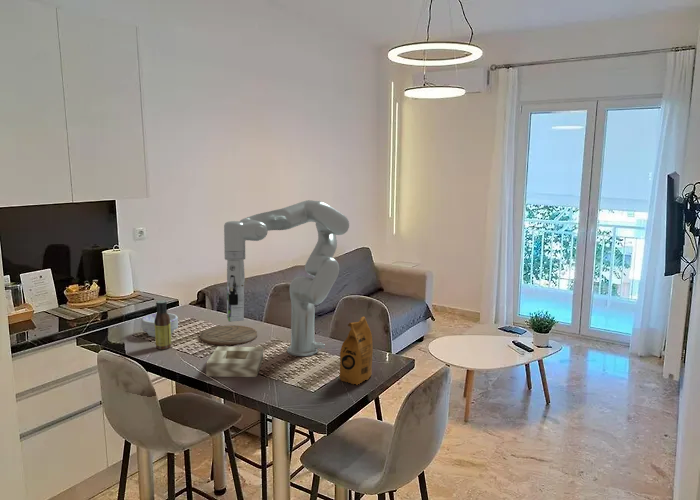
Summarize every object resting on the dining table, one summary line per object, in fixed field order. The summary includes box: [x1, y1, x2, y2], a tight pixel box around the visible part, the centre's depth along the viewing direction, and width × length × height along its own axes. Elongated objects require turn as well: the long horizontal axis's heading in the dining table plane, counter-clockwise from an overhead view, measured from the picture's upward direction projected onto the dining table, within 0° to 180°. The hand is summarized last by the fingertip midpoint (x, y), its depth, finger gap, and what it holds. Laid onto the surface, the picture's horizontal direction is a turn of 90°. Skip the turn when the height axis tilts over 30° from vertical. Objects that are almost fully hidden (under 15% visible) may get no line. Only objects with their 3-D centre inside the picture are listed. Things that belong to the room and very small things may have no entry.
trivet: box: [199, 325, 258, 347], centre depth 233 cm, size 25×25×2 cm
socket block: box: [205, 346, 264, 378], centre depth 197 cm, size 18×18×5 cm
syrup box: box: [226, 282, 245, 322], centre depth 194 cm, size 6×6×14 cm
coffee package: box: [339, 316, 374, 386], centre depth 188 cm, size 10×12×22 cm
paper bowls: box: [141, 312, 179, 338], centre depth 234 cm, size 15×15×8 cm
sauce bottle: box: [154, 300, 172, 350], centre depth 215 cm, size 7×6×20 cm
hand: (235, 301), depth 194 cm, fingers closed on syrup box, 7 cm apart
